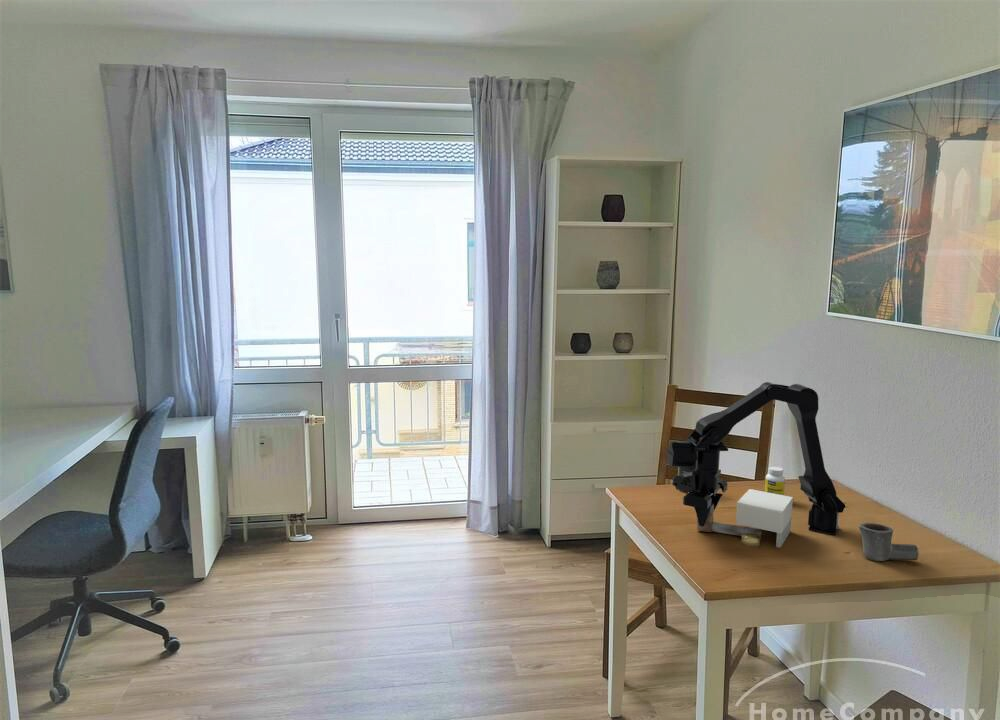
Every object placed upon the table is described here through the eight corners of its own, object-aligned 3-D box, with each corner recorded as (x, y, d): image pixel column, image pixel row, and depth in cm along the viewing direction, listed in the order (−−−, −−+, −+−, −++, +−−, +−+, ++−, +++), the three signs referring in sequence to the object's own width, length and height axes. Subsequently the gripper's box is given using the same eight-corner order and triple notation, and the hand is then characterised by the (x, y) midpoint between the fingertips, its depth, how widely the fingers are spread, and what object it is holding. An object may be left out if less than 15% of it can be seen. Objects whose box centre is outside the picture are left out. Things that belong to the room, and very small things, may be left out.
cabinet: (790, 531, 174) (792, 497, 173) (779, 548, 164) (782, 511, 163) (747, 522, 180) (749, 488, 179) (734, 537, 170) (736, 502, 169)
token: (760, 541, 168) (760, 534, 168) (758, 548, 164) (759, 541, 164) (742, 538, 170) (742, 531, 170) (740, 544, 166) (740, 537, 166)
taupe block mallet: (761, 533, 171) (762, 512, 170) (759, 540, 167) (761, 518, 166) (699, 524, 177) (700, 503, 176) (697, 530, 174) (697, 508, 173)
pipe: (920, 567, 154) (923, 535, 153) (860, 562, 157) (863, 530, 156) (909, 556, 160) (912, 525, 159) (852, 551, 163) (855, 520, 161)
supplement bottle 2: (764, 501, 197) (766, 469, 195) (764, 495, 202) (766, 464, 200) (783, 504, 195) (786, 472, 193) (783, 498, 200) (785, 467, 198)
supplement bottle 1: (672, 489, 207) (674, 452, 206) (686, 484, 211) (688, 448, 210) (691, 495, 202) (692, 457, 200) (704, 490, 206) (706, 453, 204)
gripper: (689, 453, 185) (686, 506, 187) (664, 469, 169) (662, 527, 172) (729, 460, 178) (726, 515, 181) (708, 477, 163) (704, 537, 165)
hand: (704, 523), depth 175 cm, fingers closed on taupe block mallet, 4 cm apart
